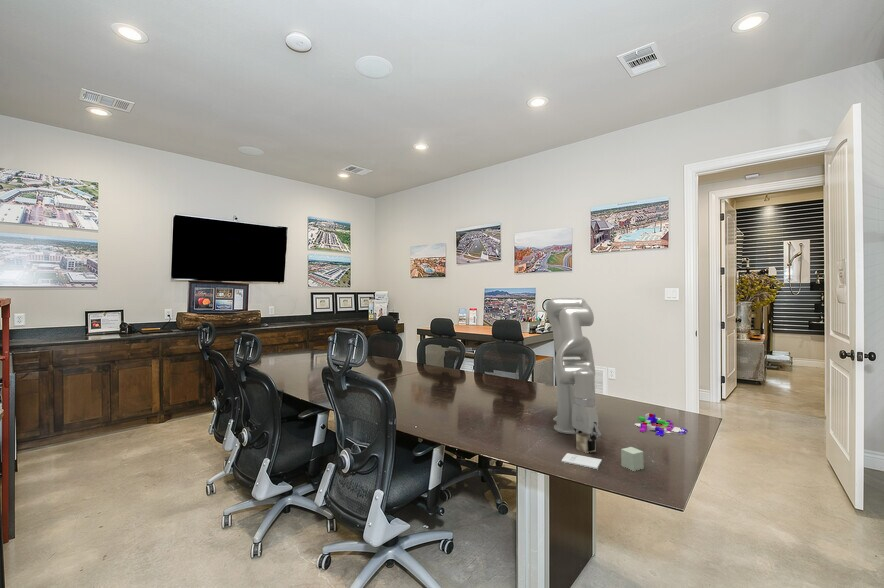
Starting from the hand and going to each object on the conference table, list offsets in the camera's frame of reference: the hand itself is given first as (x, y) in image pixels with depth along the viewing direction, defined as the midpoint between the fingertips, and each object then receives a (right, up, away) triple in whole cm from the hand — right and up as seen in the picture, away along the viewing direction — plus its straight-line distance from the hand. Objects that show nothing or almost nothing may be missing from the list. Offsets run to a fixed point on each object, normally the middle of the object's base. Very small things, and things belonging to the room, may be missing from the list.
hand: (585, 447), depth 155 cm
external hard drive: (-6, -2, -11) cm, 13 cm away
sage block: (+10, -1, -16) cm, 19 cm away
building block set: (+43, -1, +25) cm, 49 cm away
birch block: (0, -1, 0) cm, 1 cm away
